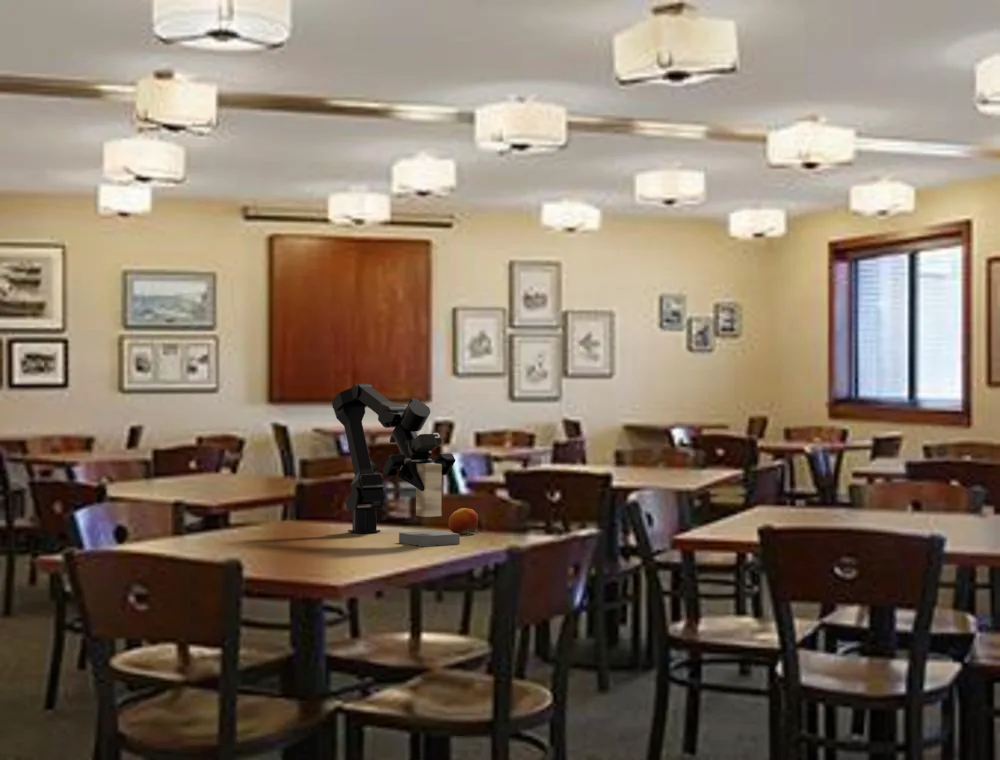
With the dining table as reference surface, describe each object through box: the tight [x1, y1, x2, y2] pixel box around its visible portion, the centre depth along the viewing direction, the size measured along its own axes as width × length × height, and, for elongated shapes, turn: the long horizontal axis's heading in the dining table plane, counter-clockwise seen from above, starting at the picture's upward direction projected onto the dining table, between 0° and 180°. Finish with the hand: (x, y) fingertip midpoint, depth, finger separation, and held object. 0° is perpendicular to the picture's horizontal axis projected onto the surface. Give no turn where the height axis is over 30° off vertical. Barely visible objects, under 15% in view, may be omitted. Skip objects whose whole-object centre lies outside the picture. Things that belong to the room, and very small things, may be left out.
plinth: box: [398, 530, 461, 547], centre depth 356 cm, size 11×11×2 cm
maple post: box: [415, 463, 443, 518], centre depth 355 cm, size 5×5×13 cm
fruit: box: [448, 507, 479, 535], centre depth 380 cm, size 8×8×8 cm
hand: (431, 489), depth 354 cm, fingers closed on maple post, 5 cm apart
